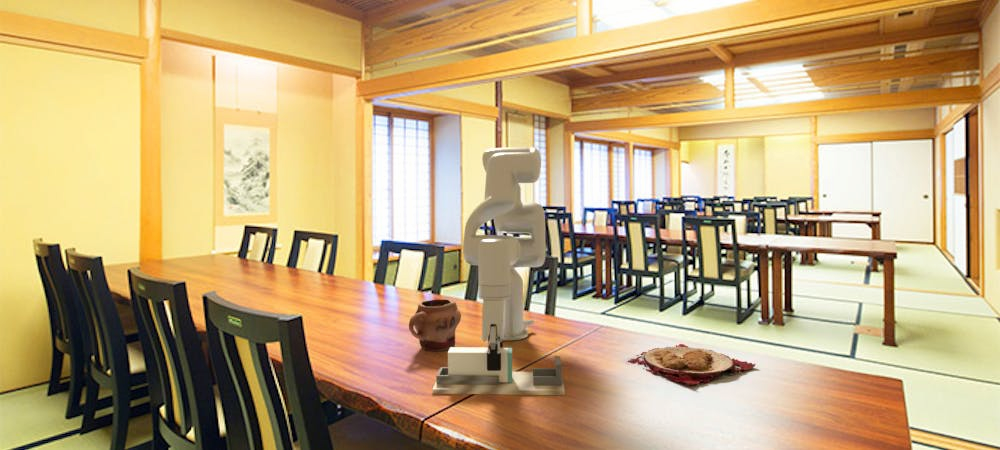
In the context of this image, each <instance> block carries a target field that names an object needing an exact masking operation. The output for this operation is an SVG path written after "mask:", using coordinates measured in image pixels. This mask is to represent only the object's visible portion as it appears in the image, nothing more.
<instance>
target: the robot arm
mask: <svg viewBox="0 0 1000 450" xmlns="http://www.w3.org/2000/svg"><path fill="white" fill-rule="evenodd" d="M481 158H482V165H483V168H484V170H485V171H484V172H485V174H486V175H485V184H484V185H485V187H484V188H485V189H484V198H483V199H484V200H483V201H482V202H480V204H478V206H476V207H475V209H473V210H472V212H471V213H470V214H469V216H468V218H467V220H466V223H465V226H464V234H463V243H462V255H463V256H462V257H463V258H464V261H465V263H467V264H469V265H471V266H477V267H478V268H477V269H478V298H479V299H481V300H482V308H481V309H482V310H481V312H482V313H481V316H482V317H481V318H482V319H481V322H482V323H481V324H482V325H481V329H482V330H481V341H482V342H483V343H485V342H486V341H487V348H488V353H487V370H488V371H500V370H501V353H500V348H504V347H503V345H504V344H503V342H504V341H505V342H507V341H509V342H510V341H513V342H514V341H520V340H523V339H525V338H527V337H528V336H529V331H528V330H527V329H526V328H527V327H531V326H533V325H534V321H533V319H528V320H527V319H524V280H523V278H522V277H521V275H520V273H518V271H517V270H516V268H540V267H542V266H543V265H544V264H545V262H546V249H547V248H546V216H545V210H544V208H543V206H542V204H541V203H538V202H522V200H521V199H522V196H521V194H522V193H521V191H522V189H521V186H520V185H521V184H533V183H537V181H538V180H539V178H540V175H541V170H542V169H541V167H542V157H541V152H540V151H539V150H538V148H536V147H495V148H490V149H487V150H485V151H484V152H483V154H482V157H481ZM492 220H493V223H494V228H495V230H496V231H498V232H499V233H502V234H504V233H505V234H528V235H530V236H526V237H525V236H524V237H523V236H522V237H521V236H513V235H505V234H504V235H496V234H490V235H489V234H478V235H477V232H478V230H479V229H480V228H481V227H482V226H483V225H484V224H485V223H488V222H489V221H492Z"/></svg>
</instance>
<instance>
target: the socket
mask: <svg viewBox="0 0 1000 450" xmlns="http://www.w3.org/2000/svg"><path fill="white" fill-rule="evenodd" d="M562 366H563V365H562V359H561V356H560V355H554V367H552V368H551V367H550V368H549V367H548V368H547V367H532V372H533V385H538V386H562V379H563V375H562V370H563V369H562Z"/></svg>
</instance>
